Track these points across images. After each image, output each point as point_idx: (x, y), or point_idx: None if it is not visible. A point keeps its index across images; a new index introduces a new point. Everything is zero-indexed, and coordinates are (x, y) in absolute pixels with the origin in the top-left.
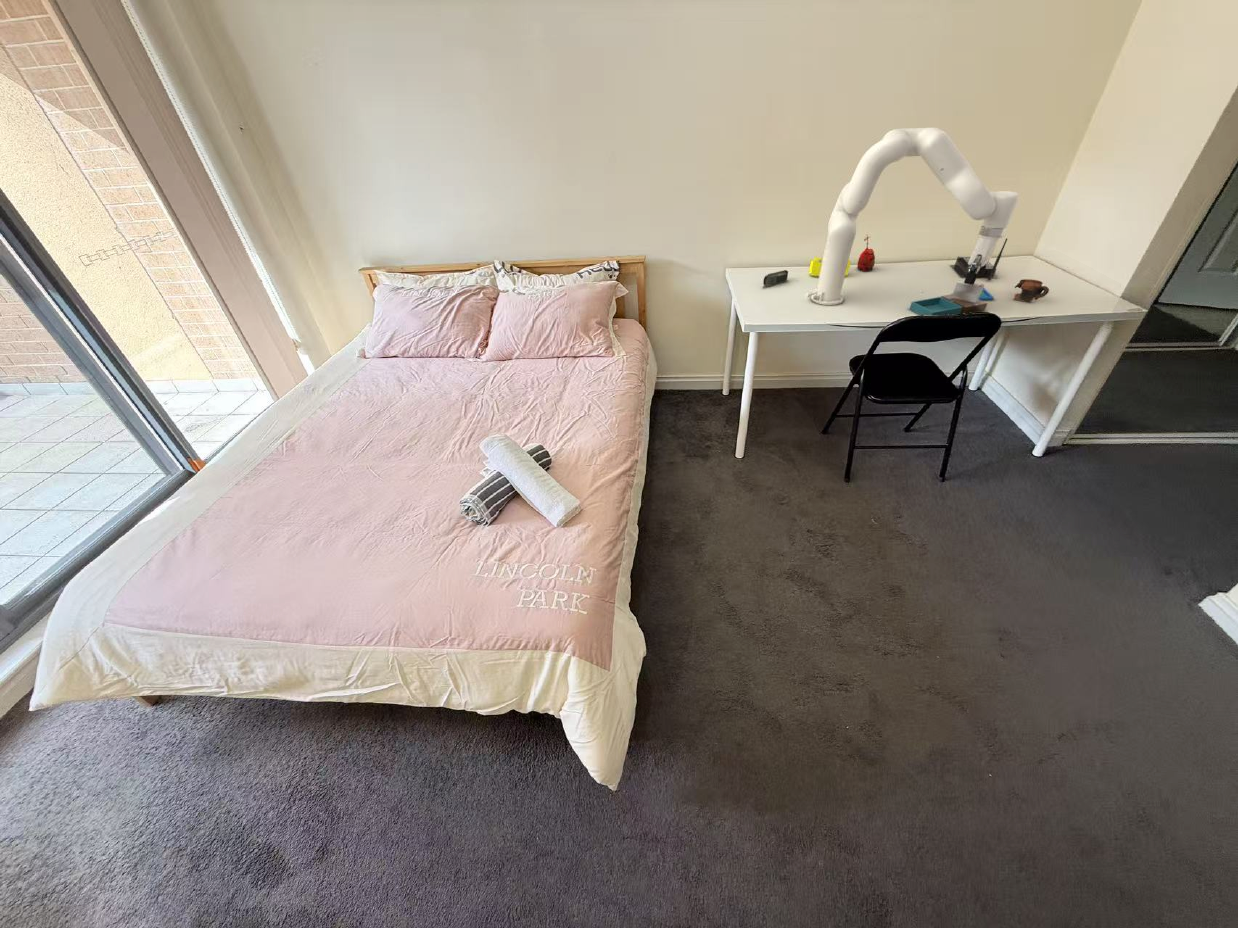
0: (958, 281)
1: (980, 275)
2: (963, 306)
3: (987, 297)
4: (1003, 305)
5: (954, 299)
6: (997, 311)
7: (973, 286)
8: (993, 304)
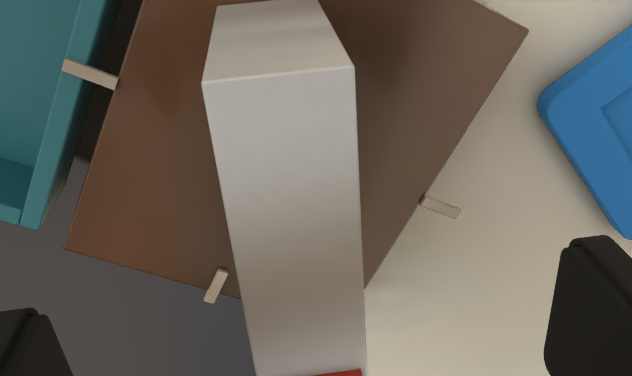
0: (272, 80)
1: (558, 361)
2: (71, 224)
3: (618, 205)
4: (536, 315)
5: (196, 63)
6: (382, 335)
7: (246, 324)
8: (520, 266)
